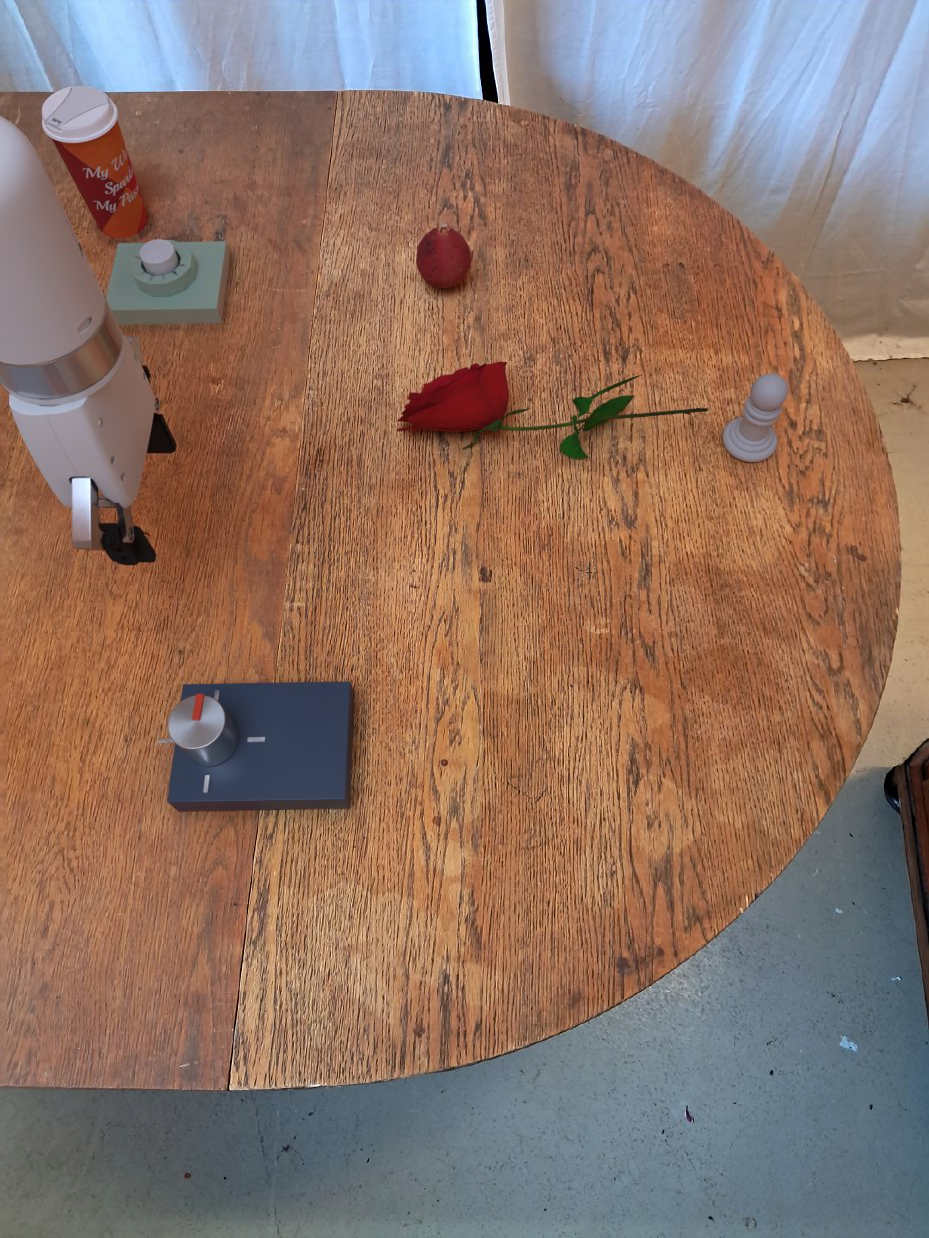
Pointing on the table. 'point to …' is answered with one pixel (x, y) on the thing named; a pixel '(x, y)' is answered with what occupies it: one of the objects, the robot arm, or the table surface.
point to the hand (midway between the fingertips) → (146, 502)
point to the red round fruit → (443, 257)
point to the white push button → (159, 257)
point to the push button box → (170, 285)
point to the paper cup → (96, 157)
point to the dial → (203, 730)
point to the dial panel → (273, 749)
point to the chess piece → (757, 420)
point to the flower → (501, 406)
